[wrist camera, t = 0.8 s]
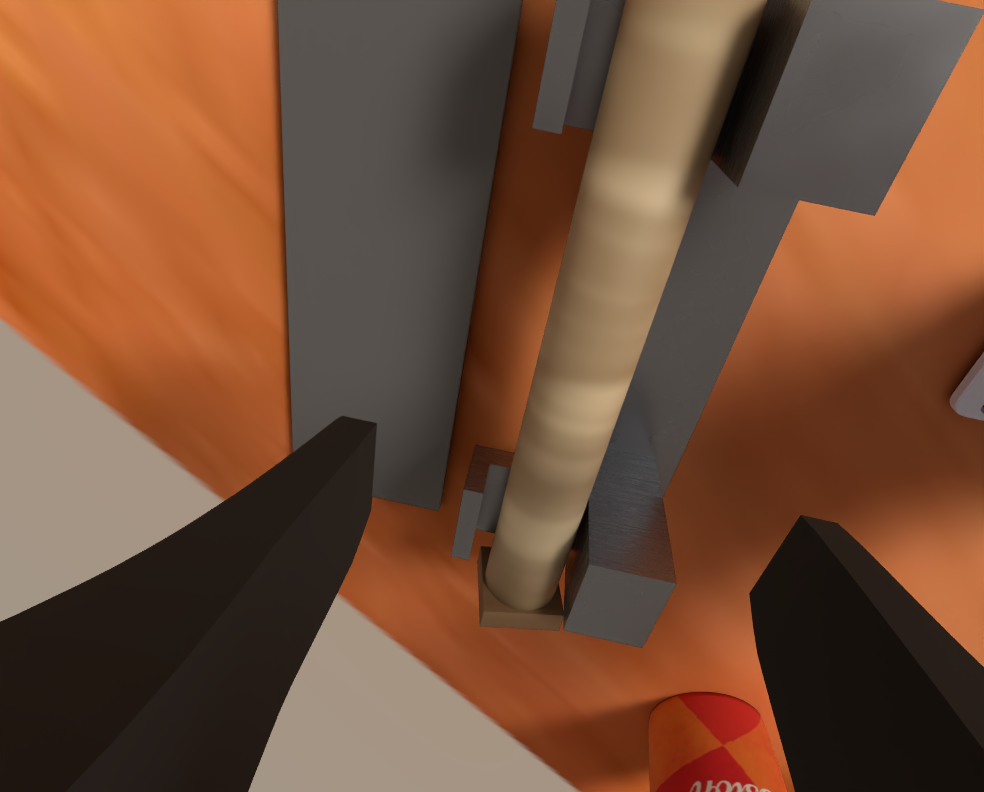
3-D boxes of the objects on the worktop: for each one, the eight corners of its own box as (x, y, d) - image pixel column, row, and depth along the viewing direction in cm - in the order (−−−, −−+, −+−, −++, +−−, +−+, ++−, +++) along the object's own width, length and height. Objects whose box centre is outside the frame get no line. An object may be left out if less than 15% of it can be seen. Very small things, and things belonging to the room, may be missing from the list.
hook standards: (892, -30, 13) (1092, -67, 8) (641, 530, 23) (657, 672, 18) (582, -92, 13) (581, -167, 8) (468, 491, 23) (435, 622, 18)
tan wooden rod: (638, -139, 10) (686, -177, 8) (773, -106, 10) (853, -133, 8) (477, 561, 21) (479, 626, 18) (548, 566, 21) (558, 630, 19)
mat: (548, -160, 12) (547, -166, 12) (440, 504, 23) (438, 511, 23) (278, -212, 12) (269, -219, 12) (298, 472, 23) (293, 478, 23)
